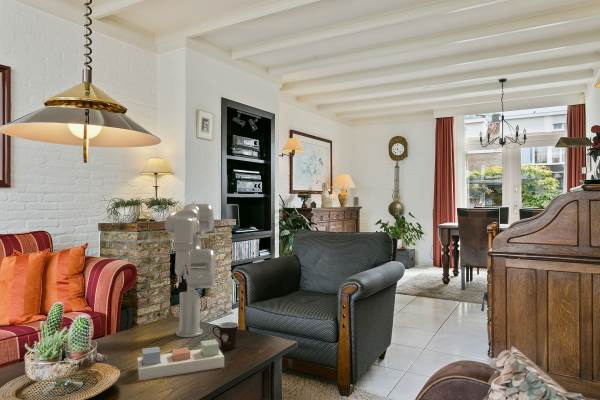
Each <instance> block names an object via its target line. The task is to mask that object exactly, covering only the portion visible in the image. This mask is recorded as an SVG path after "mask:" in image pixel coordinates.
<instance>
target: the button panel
mask: <svg viewBox="0 0 600 400" xmlns="http://www.w3.org/2000/svg"><path fill="white" fill-rule="evenodd" d="M189 350H190V349H189ZM136 361H137V362H136V363H137V364H136V365H137V366H136V368H137V376H138V380H139V381H145V380H150V379H155V378H164V377H168V376H169V377H171V376H176V375H182V374H189V373H195V372H201V371H207V370H213V369H219V368H225V355H224V354H223V352H222V350H221V349H219V355H215V356H208V357H202V355H201V348H198V349H192V350H190V359H187V360H180V361H173V359H172V352H169V353H164V354H163V353H160V363H159V364H153V365H146V366H143V364H142V356H140V357H137V358H136Z"/></svg>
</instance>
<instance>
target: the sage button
mask: <svg viewBox="0 0 600 400" xmlns="http://www.w3.org/2000/svg"><path fill="white" fill-rule="evenodd" d="M200 349H201V355H202V357H208V356H215V355H219V350H220V343H219V342H218V341H217V339H209V340H201V341H200Z"/></svg>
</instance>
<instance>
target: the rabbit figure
mask: <svg viewBox="0 0 600 400" xmlns="http://www.w3.org/2000/svg"><path fill="white" fill-rule="evenodd" d="M107 358H108V354H105V353H103V354H101V353H98V352H97V361H96V362H102V361H103V360H104V359H105V360H107Z"/></svg>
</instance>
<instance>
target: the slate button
mask: <svg viewBox="0 0 600 400" xmlns="http://www.w3.org/2000/svg"><path fill="white" fill-rule="evenodd" d="M141 354H142V355H141V357H142V364H143V366H146V365H153V364H159V363H160V355H161V349H160V346H153V347H147V348H146V347H145V348H142V349H141Z"/></svg>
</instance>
